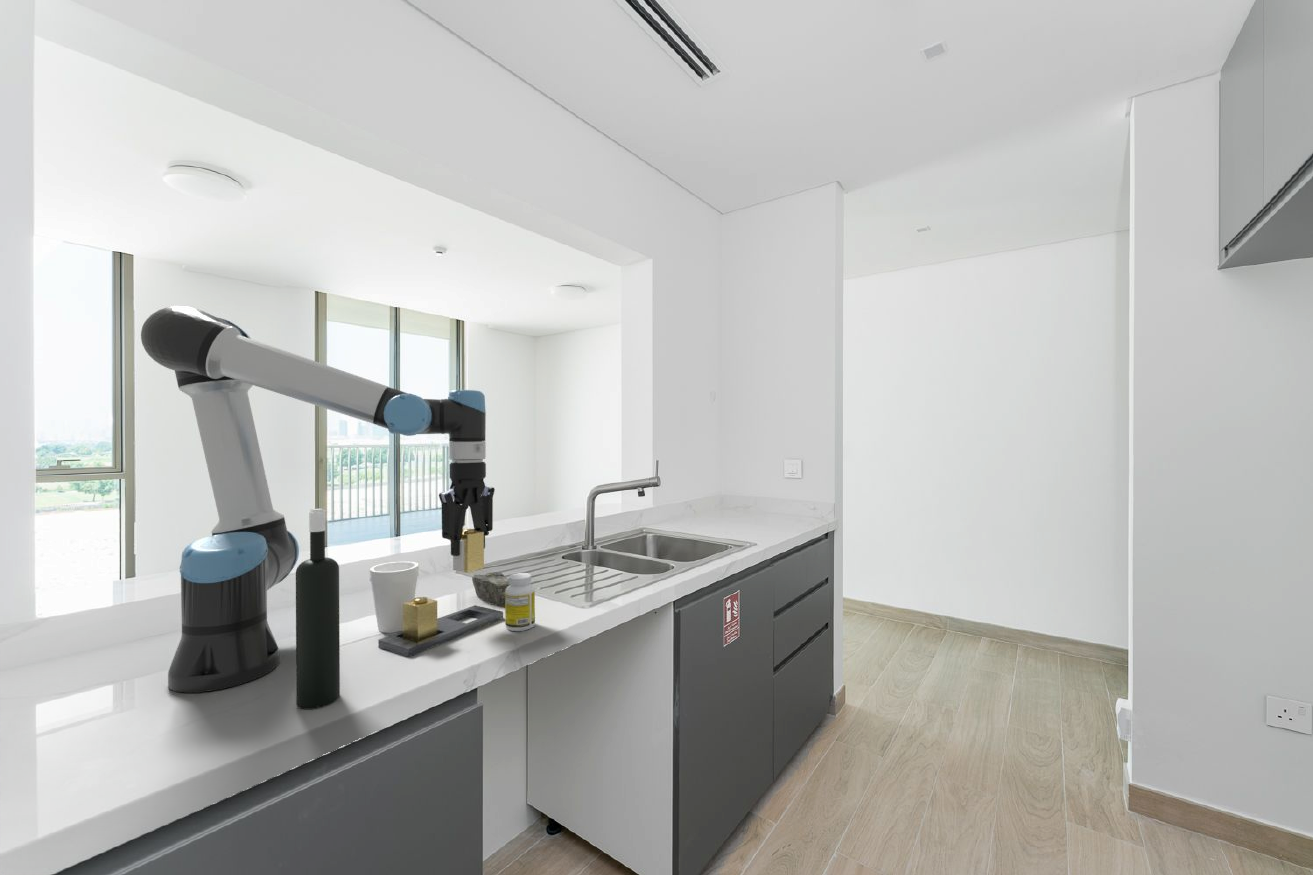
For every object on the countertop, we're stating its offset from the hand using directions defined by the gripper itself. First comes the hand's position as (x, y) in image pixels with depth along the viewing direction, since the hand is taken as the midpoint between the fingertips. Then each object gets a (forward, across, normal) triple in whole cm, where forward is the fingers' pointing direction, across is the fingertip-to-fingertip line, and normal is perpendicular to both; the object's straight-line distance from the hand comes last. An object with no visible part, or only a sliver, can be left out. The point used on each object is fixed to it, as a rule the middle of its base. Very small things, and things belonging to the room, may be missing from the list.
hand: (468, 567), depth 119 cm
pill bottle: (+13, +4, -11) cm, 17 cm away
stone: (+13, +15, +7) cm, 21 cm away
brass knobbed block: (0, 0, 0) cm, 0 cm away
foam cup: (+12, -10, +12) cm, 20 cm away
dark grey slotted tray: (+12, -6, 0) cm, 14 cm away
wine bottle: (+12, -36, -7) cm, 38 cm away
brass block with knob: (+12, -12, 0) cm, 17 cm away
